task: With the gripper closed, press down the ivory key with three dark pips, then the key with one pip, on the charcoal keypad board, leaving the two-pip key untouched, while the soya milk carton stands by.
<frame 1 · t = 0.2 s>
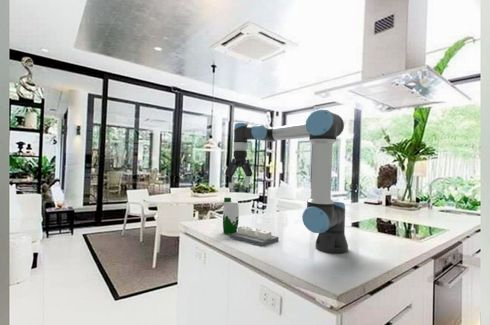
hand: (239, 188, 154), 26 cm above the counter, fingers open, 13 cm apart
key two: (253, 232, 146), point 4 cm above the counter, slide at 0.0 cm
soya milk: (230, 232, 160), on the counter
keypad board: (253, 239, 146), on the counter
key one: (264, 235, 141), point 4 cm above the counter, slide at 0.0 cm
key three: (243, 230, 150), point 4 cm above the counter, slide at 0.0 cm
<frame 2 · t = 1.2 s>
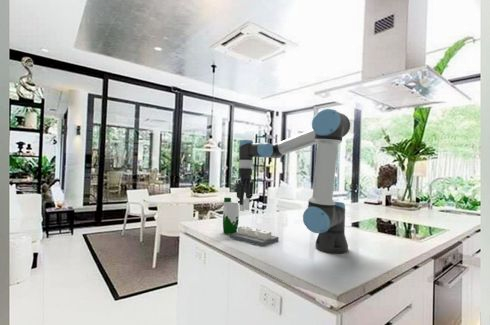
hand: (244, 210, 150), 15 cm above the counter, fingers open, 3 cm apart
nothing on the counter moved.
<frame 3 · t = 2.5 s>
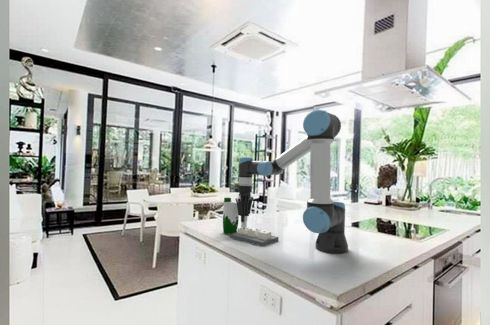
hand: (243, 227, 150), 5 cm above the counter, fingers closed
key three: (243, 231, 150), point 3 cm above the counter, slide at 0.8 cm, touching gripper
everything else where it was.
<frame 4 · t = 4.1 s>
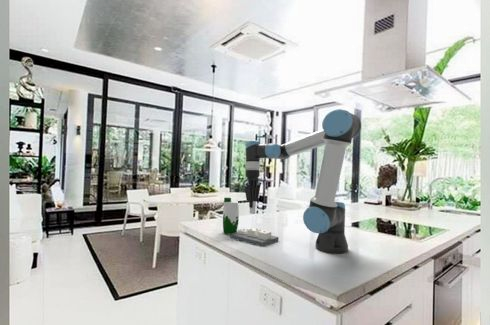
hand: (252, 213, 147), 14 cm above the counter, fingers closed
key three: (243, 233, 150), point 2 cm above the counter, slide at 1.5 cm
everything else where it was.
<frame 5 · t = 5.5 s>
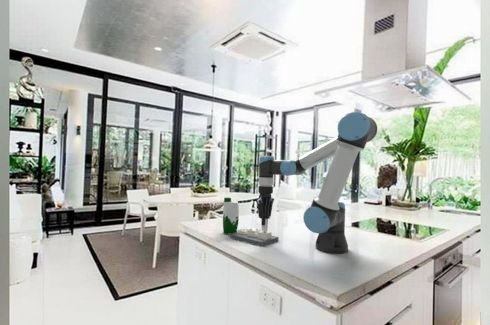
hand: (264, 231, 141), 6 cm above the counter, fingers closed
key one: (264, 235, 141), point 3 cm above the counter, slide at 0.1 cm, touching gripper
everything else where it was.
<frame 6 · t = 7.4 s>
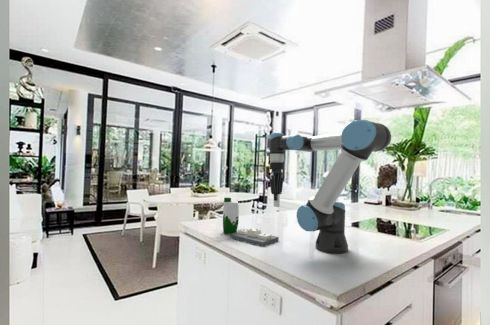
hand: (276, 206, 145), 18 cm above the counter, fingers closed
key one: (264, 238, 141), point 2 cm above the counter, slide at 1.5 cm
everything else where it was.
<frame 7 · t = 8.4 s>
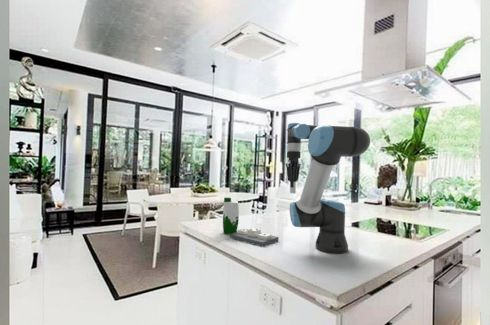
hand: (292, 193, 153), 24 cm above the counter, fingers closed
nothing on the counter moved.
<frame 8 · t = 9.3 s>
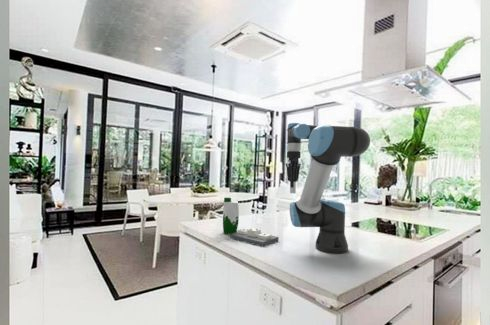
hand: (292, 193, 153), 24 cm above the counter, fingers closed
nothing on the counter moved.
at the end: key three slide at 1.5 cm; key one slide at 1.5 cm; key two slide at 0.0 cm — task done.
